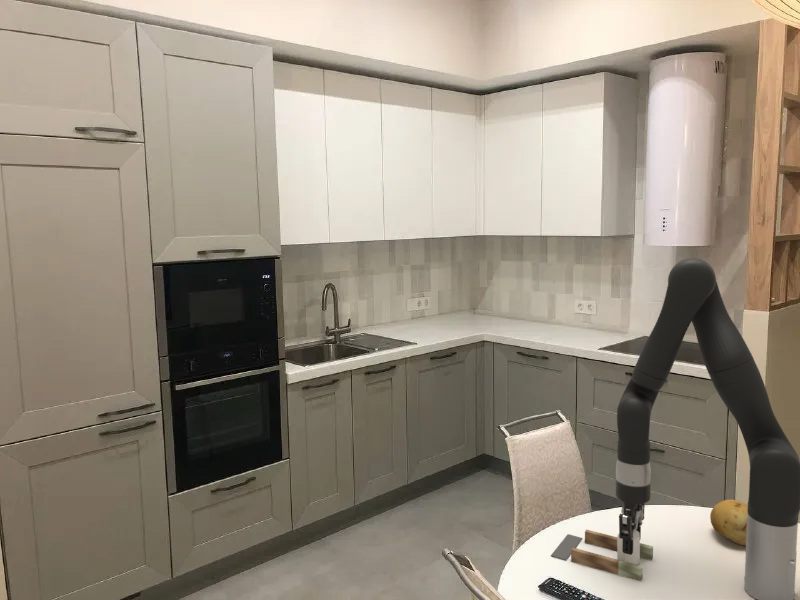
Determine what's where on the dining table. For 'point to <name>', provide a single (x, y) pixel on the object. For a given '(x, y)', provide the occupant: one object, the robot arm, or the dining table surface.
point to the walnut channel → (607, 562)
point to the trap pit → (566, 547)
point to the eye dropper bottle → (636, 549)
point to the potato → (730, 520)
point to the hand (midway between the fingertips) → (631, 546)
